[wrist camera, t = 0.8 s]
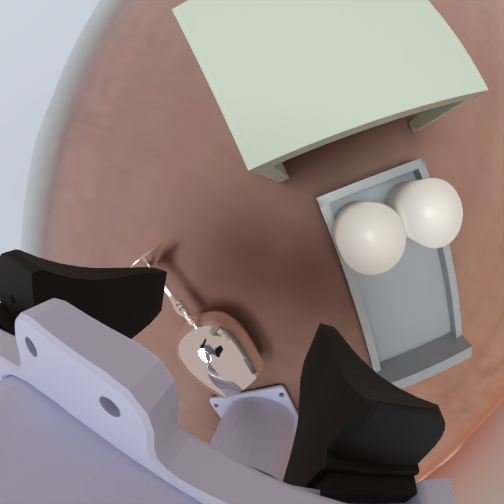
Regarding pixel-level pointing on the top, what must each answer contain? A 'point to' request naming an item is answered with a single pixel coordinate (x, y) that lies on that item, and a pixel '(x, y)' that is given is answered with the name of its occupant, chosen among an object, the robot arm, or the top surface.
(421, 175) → the tray
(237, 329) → the wineglass
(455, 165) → the top surface
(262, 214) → the top surface
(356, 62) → the block
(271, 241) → the top surface
